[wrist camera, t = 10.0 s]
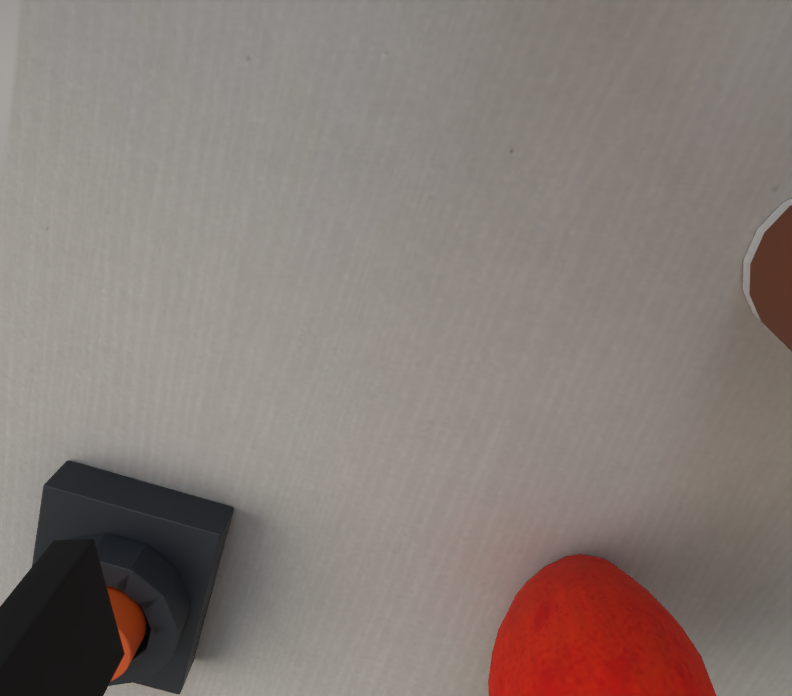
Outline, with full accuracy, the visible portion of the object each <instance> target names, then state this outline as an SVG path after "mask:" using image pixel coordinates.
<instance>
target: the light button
mask: <svg viewBox="0 0 792 696" xmlns="http://www.w3.org/2000/svg"><path fill="white" fill-rule="evenodd" d="M107 590H108V594H109V597H110V601H111V605H112V609H113V612H114V616H115V620H116V623H117V627H118V631H119V635H120V638H121V642H122V646H123V649H124V653H125V655H124V656H123V658H122V660H121V662H120V664H119V666H118V668H117V670H116V672H115V674H114V676H113V678H112V679H111V681H112V680H115V679H117V678H118V677H119V676H121V675H122V674H123V673H124V672H125V671H126V670H127V669H128V667H129V665H130V663H131V661H132V659H133V657H134V655H135V653H136V651H137V649H138V647H139V645H140V643H141V641H142V639H143V638H144V635H145V632H146V620H145V616H144V613H143V611H142V609H141V608H140V606H139V605H138V604H137V602H135V601H134V600H133V599H132V598H130V597H129V596H128V595H127V594H125V593H124V592H123V591H121V590H120V589H117V588H113V587H109V586H107Z"/></svg>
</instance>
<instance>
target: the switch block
mask: <svg viewBox="0 0 792 696" xmlns="http://www.w3.org/2000/svg"><path fill="white" fill-rule="evenodd" d="M233 510H234V509H233V507H230V506H226V505H223V504H219V503H216V502H212V501H209V500H205V499H202V498H198V497H195V496H191V495H188V494H184V493H181V492H177V491H174V490H170V489H167V488H163V487H160V486H156V485H153V484H149V483H146V482H142V481H139V480H135V479H132V478H128V477H125V476H121V475H118V474H114V473H111V472H107V471H104V470H100V469H97V468H93V467H90V466H86V465H83V464H79V463H76V462H72V461H66V462H65V463H64V465H63V466H62V467H61V468H60V469H59V470H58V471H57V472H56V473H55V474H54V475H53V476H52V477H51V478H50V479H49V480H48V481H47V482H46V483H45V484H44V486H43V493H42V500H41V507H40V514H39V521H38V528H37V535H36V542H35V550H34V557H33V564H32V567H33V565H34V564H35V563H36V562H37V560H38V559H39V558H40V557H41V555H42V554H43V553H44V552H45V551H46V549H47V548H48V547H49V546H50V544H51V543H52V542H53V541H54V540H78V539H94V542H95V546H96V549H97V553H98V557H99V560H100V564H101V568H102V572H103V575H104V579H105V583H106V586H109V587H113V588H117V589H120V590H121V591H123V592H124V593H125V594H127V595H128V596H129V597H130V598H132V599H133V600H134V601H135V602H137V604H138V605H139V606H140V608H141V609H142V611H143V613H144V616H145V620H146V632H145V635H144V638H143V639H142V641H141V643H140V645H139V647H138V649H137V651H136V653H135V655H134V657H133V659H132V661H131V663H130V665H129V667H128V669H127V670H126V671H125V672H124V673H123V674H122V675H121V676H119V677H118V678H117V679H115V680H112V681H110V683H109V685H108V686H110V685H117V684H124V683H131V682H133V683H137V684H141V685H145V686H149V687H152V688H156V689H160V690H164V691H167V692H171V693H175V694H180V693H181V690H182V688H183V685H184V683H185V680H186V678H187V676H188V673H189V671H190V668H191V666H192V663H193V661H194V657H195V653H196V649H197V646H198V642H199V638H200V634H201V630H202V627H203V623H204V619H205V615H206V612H207V608H208V604H209V600H210V597H211V593H212V589H213V585H214V581H215V578H216V574H217V570H218V566H219V563H220V559H221V555H222V551H223V548H224V544H225V540H226V536H227V532H228V529H229V525H230V521H231V517H232V514H233Z"/></svg>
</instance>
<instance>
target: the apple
mask: <svg viewBox="0 0 792 696" xmlns="http://www.w3.org/2000/svg"><path fill="white" fill-rule="evenodd" d="M488 684H489V696H716V694H715V691H714V688H713V686H712V683H711V681H710V678H709V675H708V673H707V670H706V668H705V665H704V662H703V660H702V657H701V655H700V654H699V652H698V651H697V649H696V648H695V646H694V645H693V643H692V642H691V640H690V639H689V637H688V636H687V634H686V633H685V631H684V630H683V628H682V627H681V626H680V625H679V623H678V622H677V621H676V620H675V619H674V617H673V616H672V615H671V614H670V613H669V612H668V611H667V610H666V609H665V608H664V607H663V606H662V605H661V604H660V603H659V602H658V601H657V600H656V599H655V598H654V597H653V596H652V595H651V594H650V593H649V592H648V591H647V590H646V589H645V588H644V587H642V586H641V585H640V584H639V583H637V582H636V581H635V580H634V579H633V578H631V577H630V576H629V575H628V574H626V573H625V572H623V571H622V570H621V569H619V568H618V567H617V566H615V565H614V564H613V563H611V562H610V561H608V560H606V559H604V558H599V557H593V556H587V555H582V554H578V555H572V556H566V557H564V558H562V559H560V560H558V561H556V562H554V563H552V564H549V565H547V566H545V567H544V568H543V569H542V570H540V571H539V572H538V573H537V574H536V575H534V576H533V577H532V578H531V579H530V580H528V581H527V583H526V584H525V585H524V586H523V587H522V588H521V590H520V591H519V592H518V593H517V594H516V596H515V598H514V600H513V602H512V604H511V606H510V608H509V610H508V612H507V614H506V616H505V618H504V620H503V622H502V624H501V626H500V628H499V630H498V634H497V638H496V641H495V645H494V649H493V652H492V658H491V666H490V673H489V680H488Z"/></svg>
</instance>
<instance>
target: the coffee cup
mask: <svg viewBox="0 0 792 696" xmlns="http://www.w3.org/2000/svg"><path fill="white" fill-rule="evenodd" d="M743 292H744V294H745V297H746V299H747V301H748V303H749V305H750V308H751V310H752V312H753V314H754V316H755V317H756V318H757V319H759V320H760V321H761V322H762V323H764V324H765V325H766V326H767V327H768V328H769V329H770V330H771V331H772V332H773V333H774V334H775V335H776V336H777V337H778V338H779V339H780V340H781V341H782V342H783V343H784V344H785V345H786V346H787V347H788V348H789V349H790V350H791V351H792V198H791V199H789V200H787V201H785V202H783V203H782V204H781V205H780V206H779V207H778V208H777V209H776V210H775V211H774V212H773V213H772V214H771V215H770V216H769V217H768V218H767V219H766V220H765V221H764V222H763V224H762V225H761V226H760V227H759V228H758V229H757V231H756V233H755V235H754V237H753V240H752V242H751V244H750V246H749V249H748V251H747V253H746V255H745V258H744V260H743Z"/></svg>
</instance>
